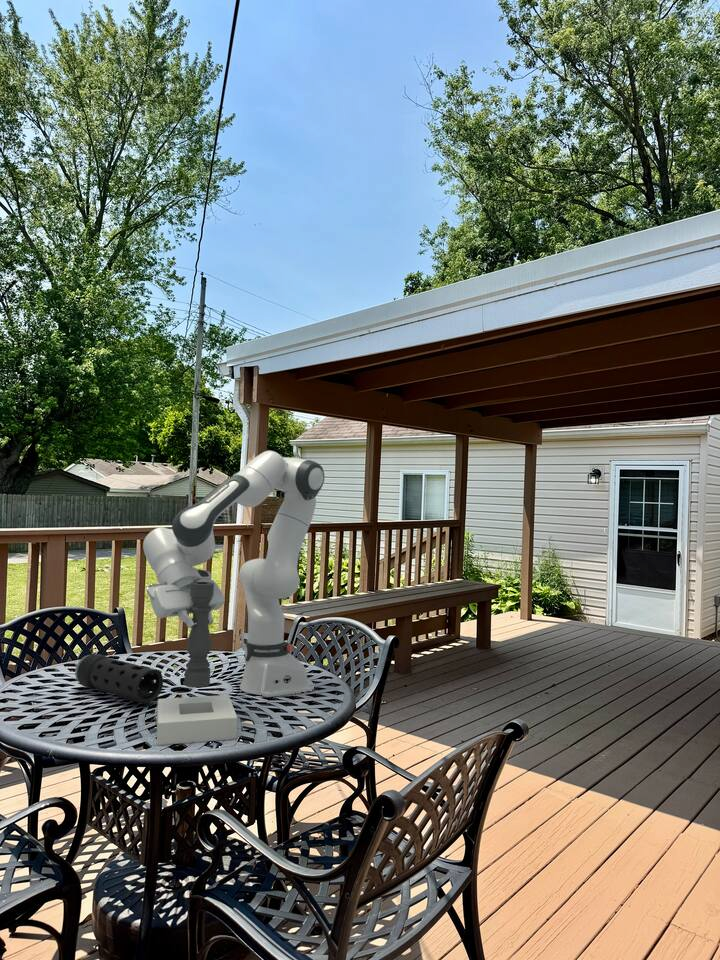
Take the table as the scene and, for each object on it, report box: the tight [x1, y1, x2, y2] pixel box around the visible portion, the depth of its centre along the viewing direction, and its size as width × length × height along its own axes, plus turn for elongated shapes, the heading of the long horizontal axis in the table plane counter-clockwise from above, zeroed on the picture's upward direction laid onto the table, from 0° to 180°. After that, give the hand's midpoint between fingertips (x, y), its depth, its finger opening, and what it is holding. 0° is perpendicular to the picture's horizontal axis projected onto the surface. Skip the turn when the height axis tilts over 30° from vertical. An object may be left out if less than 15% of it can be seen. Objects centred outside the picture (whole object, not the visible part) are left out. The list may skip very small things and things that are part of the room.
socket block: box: [156, 694, 238, 746], centre depth 152 cm, size 18×18×5 cm
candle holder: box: [183, 582, 214, 689], centre depth 153 cm, size 6×6×25 cm
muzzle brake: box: [74, 653, 164, 706], centre depth 175 cm, size 10×28×10 cm, turn 58°
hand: (201, 625), depth 153 cm, fingers closed on candle holder, 4 cm apart
